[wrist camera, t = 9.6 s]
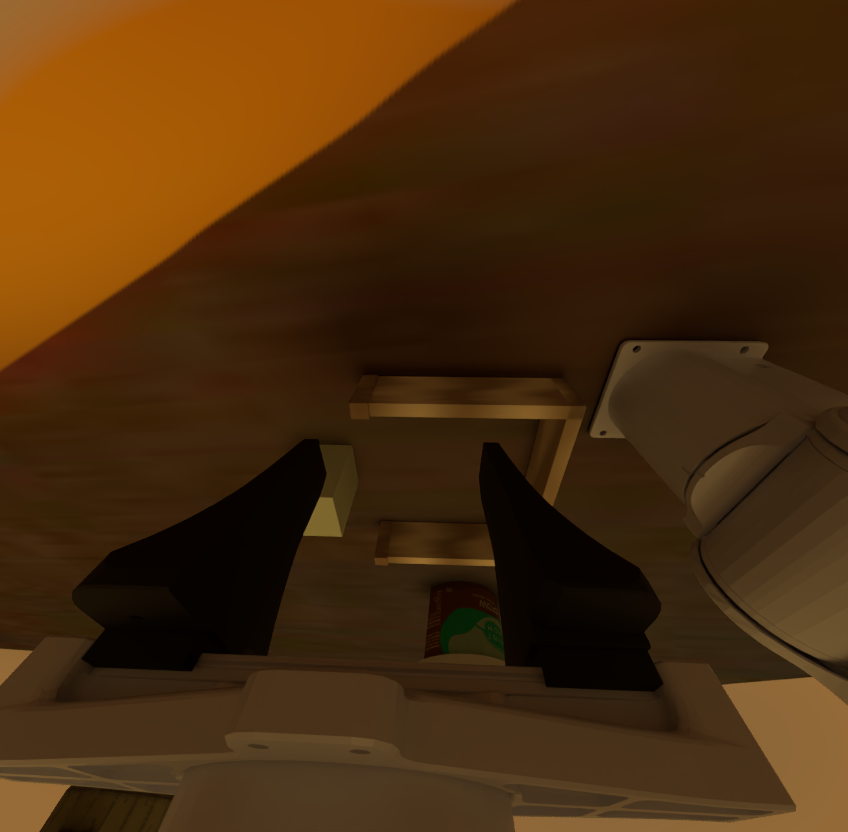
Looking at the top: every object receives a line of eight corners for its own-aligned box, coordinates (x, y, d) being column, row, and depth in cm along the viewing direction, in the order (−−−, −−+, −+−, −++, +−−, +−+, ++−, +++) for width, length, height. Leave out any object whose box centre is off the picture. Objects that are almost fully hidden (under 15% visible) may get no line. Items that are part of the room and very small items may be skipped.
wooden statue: (228, 605, 44) (-198, 1393, 14) (189, 559, 37) (-735, 1818, 8) (287, 606, 43) (-32, 1428, 14) (257, 558, 37) (-464, 1915, 7)
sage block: (352, 445, 26) (332, 497, 21) (358, 481, 29) (342, 536, 24) (301, 444, 26) (270, 496, 21) (312, 480, 29) (286, 535, 24)
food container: (524, 598, 40) (547, 699, 31) (491, 614, 42) (505, 711, 34) (451, 564, 36) (456, 669, 27) (421, 585, 39) (417, 685, 30)
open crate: (564, 377, 22) (588, 406, 18) (521, 531, 32) (532, 569, 28) (362, 374, 22) (348, 403, 19) (382, 527, 32) (375, 564, 29)
